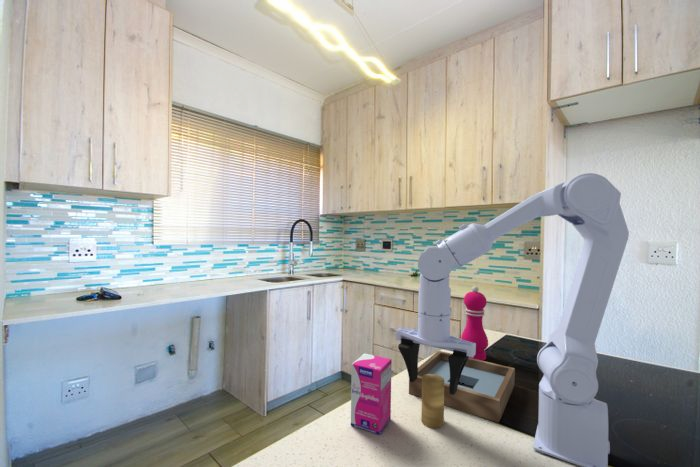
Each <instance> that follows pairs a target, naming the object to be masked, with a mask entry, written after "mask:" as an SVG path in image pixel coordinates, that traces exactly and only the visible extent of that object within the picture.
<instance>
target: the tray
mask: <svg viewBox="0 0 700 467" xmlns="http://www.w3.org/2000/svg"><path fill="white" fill-rule="evenodd" d="M451 354H452V353H450V352H445V351H441V350H438V351H436V352H435V353H433V355H431V356H430V357H429V358H428V359H426V360H425V361H424V362H423V363H422V364H421V365H420V366H419V365H418V375H417V379H416V380H415V381H414V382H410V380H409V379H408V394H410V395H412V396H416V397H419V398H421V399H422V376H423V375H425V374H426V373H428V372H429V371H430V370H431V369H432V368H433V367H434V366H435V365H436V364H437V363H438V362H440V361H445V362H449V361H448V357H449V356H450V355H451ZM465 366H466V367H470V368H474V369H478V370H482V371H486V372H490V373H494V374H498V375H502V376H505V378H504V380H503V382H502V384H501V385H500V387H499V389H498V391H497V393H496V395H495V397H492V396H488V395H485V394H481V393H478V392H474V391H471V390H467V389H464V388H460V387H457V391H456V393H455V394H454V395H452V394H450V391H449V386H450V384H446V383H444V406H446V407H450V408H451V409H452V408H453V409H455V410H458V411H462V412H464V413H468V414H470V415H474V416H476V417H480V418H482V419H483V418H484V419H486V420H489V421H493V422H495V423H500V420H501V419H502V417H503V414H504V411H505V409H506V406H507V405H508V401H509V399H510V397H511V394H512V393H513V390H514V388H515V375H516V372H515V371H516V368H515V367H511V366H506V365H503V364H499V363H498V364H497V363H494V362H489V361H485V360H484V361H481V360H477V359H473V358H468V360H467V362H466V364H465Z"/></svg>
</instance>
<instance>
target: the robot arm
mask: <svg viewBox="0 0 700 467" xmlns="http://www.w3.org/2000/svg"><path fill="white" fill-rule="evenodd" d="M621 195H622V193H621V191H619V190H618V188H617V187H616V186H614V184H613V183H612V182H610V180H608V178H606V177H604V176H603V175H601V174H598V173H592V172H588V173H587V172H586V173H581V174H579V175H576V176H575V177H573V178H571V180H570V179H569V180H568V181H566V182H565V181H564V182H561V183H559V184H557V185H554V186H551V187H549V188H547V189H544V190H542V191H539V192H537V193H535V194H533V195H530V196H529V197H528V198H526V199H524V200H523V201H521V202H519V203H517V204H516V205H514V206H513V207H511V208H510V209H508V210H506V211H505V212H502V213H501V214H500V215H498V216H497V217H494V218H493V219H492V220H490V221H489V222H486V223H485V224H479V223H475V222H473V223H472V222H470V224H468V225H467V224H465V223H463V224H462V225H460V226H458V229H459V230H458V231H456V232H455V233H453V234H451V235H449V236H448V237H446V238H444V239H443V240H442V239H437V240H436V241H435V244H436V247H435V246H430V247H427V248H426V249H425V250H424V251H423V252H422V253H421V254H420V255H419V257H418V260H417V267H418V268H417V269H418V271H419V272H420V275H419V281H418V282H419V286H418V299H417V300H418V301H417V302H418V308H417V310H418V311H417V315H418V316H417V317H418V318H417V329H412V328H403V327H399V328H397V329H396V330H395V340H396V341H399V342H400V343H399V344H398V345H397V348H398V350H399V352H400V354H401V356H402V358H403V361H404V363H405V367H406V370H407V374H408V381H409V380H410V382H414V381H415V380H416V379H417V375H418V367H419V364H418V363H419V362H418V361H419V352H420V347H421V345H423V346H428V347H432V348H436V349H440V350H445V351H449V352H452V353H451V355H450V356H449V357H448V361H449V368H450V386H449V391H450V394H452V395H454V394H455V393H456V391H457V387H458V385H459V384H460V383H459V379H460V376H461V373H462V371H463V368H464V366H465V364H466V362H467V360H468V358H469V357H473V356H474V355H475V354H476V343H472V342H468V341H465V340H462V339H461V338H459V337H456V336H453V335H451V303H452V302H451V298H452V297H451V294H452V291H451V290H452V289H451V287H450V274H451V273H452V269H454V268H455V269H460V268H462V267H464V266H466V265H467V264H470V262H473V261H475V260H476V259H479V258H480V257H481V256H483V255H485V254H487V253H489V252H491V251H492V247H493V243H494V241H495V240H497V239H498V238H500V237H502V236H505V235H506V234H508V233H510V232H512V231H514V230H516V229H518V228H520V227H522V226H524V225H525V224H527V223H529V222H531V221H533V220H535V219H537V218H538V217H539V218H540V217H551V216H552V217H553V216H556V215H557V216H559V217H560V218H562V219H563V220H565V221H567V222H568V223H570V224H572V226H573V227H574V229H576V231H577V232H578V233H579V235H580V236H581V237H582V238H583V240H584V241H583V243H582V247H581V250H580V254H579V257H578V260H577V262H576V267H575V270H574V273H573V276H572V280H571V284H570V286H569V288H568V289H569V290H568V293H567V296H566V299H565V302H564V305H563V308H562V312H561V316H560V318H559V322H558V325H557V328H556V329H555V330H554V331H553V332H552V333H551V334H550V335H549V336H548V341H547V343H546V344H545V345H544V346H543V347H541V348H540V350H539V351H538V353H537V356H536V362H537V366H538V369H539V370H540V371H541V372H542V373H543V376H542V378H541V380H540V381H539V384H538V420H537V421H538V423H537V426H536V431H535V435H534V440H533V445H532V448H533V449H534V450H535V451H536V452H540V453H542V454H545V455H548V456H551V457H554V458H556V459H559V460H562V461H565V462H567V463H570V464H573V465H575V466H576V465H577V466H579V467H608V464H609V463H608V462H609V455H610V453H611V446H610V440H609V409H608V408H609V407H608V403H606V402H604V401H601V400H598V399H596V398H595V397H596V395H597V393H598V391H599V381H598V377H597V369H598V365H599V359H598V354H597V349H596V345H595V344H596V340H597V337H598V335H599V331H600V328H601V325H602V322H603V318H604V316H605V313H606V309H607V307H608V303H609V300H610V297H611V293H612V291H613V288H614V284H615V281H616V277H617V275H618V272H619V268H620V265H621V262H622V260H623V256H624V252H625V250H626V246H627V244H628V240H629V234H630V233H629V232H630V231H629V228H628V225H627V222H626V220H625V216H624V213H623V210H622V207H621V204H620V202H621V197H622V196H621Z"/></svg>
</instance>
